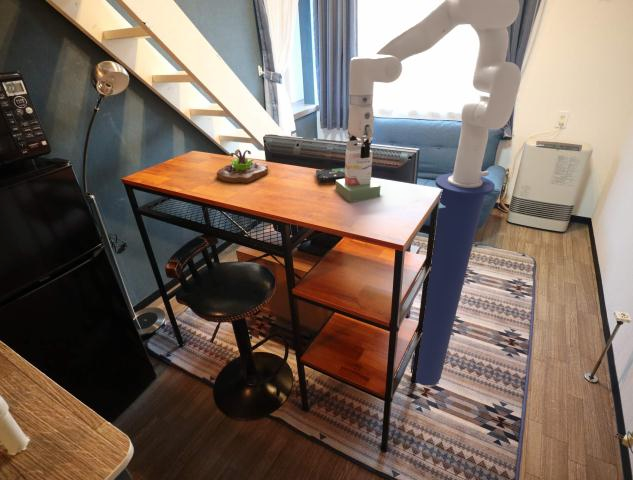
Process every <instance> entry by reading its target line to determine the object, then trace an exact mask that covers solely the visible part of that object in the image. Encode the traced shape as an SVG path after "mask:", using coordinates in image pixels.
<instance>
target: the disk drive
mask: <svg viewBox="0 0 633 480" xmlns="http://www.w3.org/2000/svg"><path fill="white" fill-rule="evenodd" d="M315 175H316V178H317V181H318V183H319V184H321V185H323V184H326V185H327V184H336V180H339V179H345V167H338V168H337V167H336V168H322V169H315Z"/></svg>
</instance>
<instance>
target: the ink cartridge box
mask: <svg viewBox="0 0 633 480" xmlns="http://www.w3.org/2000/svg"><path fill="white" fill-rule="evenodd" d="M365 141H366V139H364V142H365ZM357 143H358V144H359V145H357V146H354V144H357ZM361 146H362V143H361V139H358V140H356V141H349V140H347V141H346V146H345V148H346V149H345V156H344V157H345V159H344V160H345V161H344V168H345V182H346V183H347V185H348V186H350V185H364V184H371V180H372V169H373V156H374V155H373V153H374V152H373V151H372V150H371V149H370V157H369V158H363V159H362V158H360V155H361Z"/></svg>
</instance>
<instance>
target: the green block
mask: <svg viewBox="0 0 633 480" xmlns="http://www.w3.org/2000/svg"><path fill="white" fill-rule="evenodd" d="M381 187H382V186H381V185H380V184H378V183H377V182H375V181H374V180H372V179H371V184H364V185H350V186H348V185H347V183H346V182H345V179H339V180H336V183H335V191H336V192H337V193H338V194H339V195H341V196H342V197H343V198H344V199H345V200H347V201H348V202H349V203H352V202H358V201H362V200H368V199H374V198H379V197H380V196H381Z"/></svg>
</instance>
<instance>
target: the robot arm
mask: <svg viewBox="0 0 633 480" xmlns="http://www.w3.org/2000/svg"><path fill="white" fill-rule="evenodd" d="M519 13H520V2H519V0H441V1H439V2H438V3H437V4H436V5H435V6H434V7H432V8H431V9H430V10H429V11H428V12H426V14H424V15H423V16H422V17H420V19H419V20H417V21H416V22H415V23H414V24H412V25H410V26H409V27H408V28H406V29H405V30H403V31H402V32H401V33H399V34H398V35H396V36H395V37H393V38H392V39H390V40H389V41H388V42H387V43H385V44H384V45H382V47H380V49H378V50H377V51H376V52H375V53H374V54H373V55H372V56H354V57H352V58H351V59H350V60H349V61H350V62H349V83H348V84H349V85H348V87H349V89H348V106H349V107H348V108H349V110H348V120H347V122H348V123H347V125H346V127H347V134H348V138H347V139H348V141H356V140H361V143H362V144H361V143H360V144H361V145H362V146H361V155H360V158H362V159H363V158H369V157H370V150H371V146H372V143H373V140H374V137H375V135H374V132H375V131H374V125H375V123H374V121H375V118H374V107H373V103H374V102H373V101H374V85H375V84H374V83H384V84H389V83H393V82H395V81H397V80H398V79H399V78H400V76H401V74H402V71H403V64H402V62H403V61H405V60H406V59H408V58H410V57H412V56H415V55H418V54H421V53H423V52H426V51H428V50H431V48H433V47H434V46H435V45H436V44H438V43H439V42H440V41H441V40H442V39H443V38H445V36H447V35H448V34H449V33H450V32H452V30H454V29H455V28H456V27H458V26H461V25H462V26H463V25H470V26H471V27H472V29H473V30H474V31H475V32H476V35H477V37H478V42H479V46H478V47H479V48H478V53H477V58H476V63H475V68H474V72H473V77H472V87H473V88H474V89H475V90H476V91H479V92H482V93H487V94H489V96H486V95H474V96H471V97H470V98H468V99H467V100H466V101H465V102H464V104H463V106H462V109H461V116H460V117H461V120H460V121H461V123H460V125H461V128H460V135H459V140H458V147H457V151H456V158H455V162H454V167H453V172H452V173H453V175H452V176H450V177H449V178H448V182H449V183H450V184H451V185H454V186H457V187H461V188H477V187H480V186H481V185H482V180H481V177H487V176H489V175H490V172H489V170H484V171H482V167H483V163H484V159H485V154H486V149H487V144H488V141H489V130H491V131H496V130H501V129H502V128H504V127H505V126H506V125H507V123H508V122H509V120H510V119H511V117H512V114H513V110H514V107H515V104H516V100H517V96H518V92H519V89H520V84H521V82H522V81H521V80H522V75H521V73H522V72H521V70H520V67H519V66H518V65H517V64H516V63H514V62H512V61H506V59H507V55H508V54H507V53H508V50H509V44H510V39H509V38H510V36H509V31H508V27H510V26H511V25H512V24H514V22H515V21H516V20H517V18H518V16H519ZM364 140H366V141H365V142H364ZM358 144H359V143H357V144H354V146H357V145H358Z"/></svg>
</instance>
